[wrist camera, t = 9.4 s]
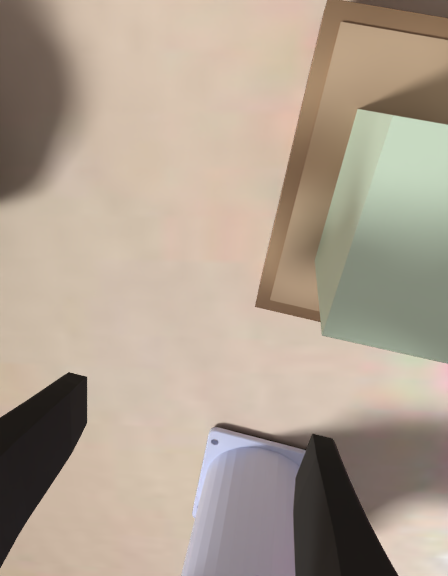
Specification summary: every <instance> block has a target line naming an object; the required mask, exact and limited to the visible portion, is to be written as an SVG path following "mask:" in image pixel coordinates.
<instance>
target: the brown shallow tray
mask: <svg viewBox="0 0 448 576" xmlns="http://www.w3.org/2000/svg"><path fill="white" fill-rule="evenodd" d="M357 109H361V110H367V111H373V112H378V113H384V114H390V115H395V116H401V117H407V118H413V119H418V120H424V121H430V122H436V123H441V124H447V125H448V18H444V17H438V16H432V15H426V14H420V13H414V12H408V11H402V10H397V9H391V8H385V7H379V6H373V5H367V4H361V3H355V2H349V1H343V0H327V3H326V7H325V10H324V14H323V18H322V22H321V26H320V30H319V34H318V39H317V43H316V47H315V51H314V56H313V60H312V64H311V68H310V73H309V77H308V81H307V85H306V90H305V94H304V98H303V102H302V107H301V111H300V115H299V119H298V124H297V128H296V132H295V136H294V141H293V145H292V149H291V153H290V158H289V162H288V166H287V170H286V175H285V179H284V183H283V187H282V192H281V196H280V200H279V204H278V209H277V213H276V217H275V221H274V225H273V230H272V234H271V238H270V242H269V247H268V251H267V255H266V259H265V264H264V268H263V272H262V276H261V281H260V285H259V290H258V295H257V300H256V304H255V307H258V308H263V309H267V310H271V311H276V312H280V313H284V314H288V315H293V316H297V317H301V318H306V319H310V320H314V321H318V322H321V320H320V310H319V300H318V290H317V279H316V269H315V258H316V254H317V251H318V247H319V243H320V240H321V236H322V233H323V229H324V226H325V222H326V219H327V215H328V212H329V208H330V205H331V201H332V198H333V194H334V190H335V187H336V183H337V180H338V176H339V173H340V169H341V166H342V162H343V159H344V155H345V152H346V148H347V145H348V141H349V137H350V134H351V130H352V127H353V123H354V120H355V116H356V113H357Z"/></svg>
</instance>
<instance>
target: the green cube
mask: <svg viewBox="0 0 448 576" xmlns="http://www.w3.org/2000/svg"><path fill="white" fill-rule="evenodd" d="M315 269H316V279H317V290H318V300H319V310H320V320H321V331H322V336H326V337H331V338H335V339H340V340H344V341H349V342H353V343H358V344H362V345H367V346H371V347H376V348H380V349H385V350H389V351H394V352H398V353H402V354H407V355H411V356H416V357H420V358H425V359H429V360H434V361H438V362H443V363H447V364H448V125H447V124H441V123H436V122H430V121H424V120H418V119H413V118H407V117H401V116H395V115H390V114H384V113H378V112H373V111H367V110H361V109H357V113H356V116H355V120H354V123H353V127H352V130H351V134H350V137H349V141H348V145H347V148H346V152H345V155H344V159H343V162H342V166H341V169H340V173H339V176H338V180H337V183H336V187H335V190H334V194H333V198H332V201H331V205H330V208H329V212H328V215H327V219H326V222H325V226H324V229H323V233H322V236H321V240H320V243H319V247H318V251H317V254H316V258H315Z"/></svg>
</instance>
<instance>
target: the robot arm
mask: <svg viewBox="0 0 448 576" xmlns="http://www.w3.org/2000/svg"><path fill="white" fill-rule="evenodd" d="M86 424H87V377H85V376H81V375H77V374H74V373H70V372H69V373H67V374H65V375H64V376H62V377H61V378H59V379H58V380H56V381H55V382H53V383H52V384H50V385H49V386H48V387H46V388H45V389H43V390H42V391H40V392H39V393H37V394H36V395H34V396H33V397H31V398H30V399H28V400H27V401H25V402H24V403H22V404H21V405H19V406H18V407H16V408H14V409H13V410H11V411H10V412H8V413H7V414H5V415H4V416H2V417H0V568H1V566H2V564H3V562H4V560H5V559H6V557H7V555H8V553H9V551H10V549H11V548H12V546H13V544H14V542H15V540H16V538H17V537H18V535H19V533H20V532H21V530H22V528H23V527H24V525H25V524H26V522H27V520H28V519H29V517H30V516H31V514H32V513H33V511H34V510H35V508H36V507H37V505H38V504H39V502H40V501H41V499H42V498H43V496H44V495H45V493H46V492H47V490H48V489H49V487H50V486H51V484H52V483H53V481H54V480H55V478H56V477H57V475H58V474H59V472H60V471H61V469H62V467H63V466H64V464H65V463H66V461H67V460H68V458H69V457H70V455H71V454H72V452H73V450H74V448H75V446H76V444H77V442H78V440H79V438H80V436H81V434H82V432H83V430H84V428H85V426H86ZM214 439H216V440H214ZM192 515H193V517H194V518H195V521H194V525H193V529H192V533H191V537H190V542H189V546H188V550H187V554H186V558H185V562H184V566H183V570H182V574H181V576H398V574H397V572H396V571H395V569H394V567H393V566H392V564H391V562H390V560H389V559H388V557H387V555H386V553H385V551H384V550H383V548H382V546H381V544H380V542H379V540H378V538H377V536H376V534H375V532H374V531H373V529H372V527H371V525H370V523H369V521H368V519H367V517H366V514H365V512H364V510H363V508H362V506H361V504H360V502H359V499H358V497H357V495H356V493H355V491H354V488H353V486H352V484H351V482H350V479H349V477H348V474H347V472H346V470H345V467H344V465H343V462H342V460H341V457H340V455H339V452H338V449H337V447H336V444H335V442H334V440H333V439H331V438H327V437H323V436H319V435H316V434H312V436H311V439H310V442H309V444H308V447H307V449H306V450H303V449H299V448H296V447H292V446H288V445H284V444H280V443H276V442H272V441H269V440H265V439H261V438H257V437H253V436H249V435H245V434H242V433H238V432H234V431H230V430H226V429H222V428H218V427H214V428H211V429H210V432H209V436H208V440H207V445H206V450H205V455H204V459H203V464H202V469H201V474H200V479H199V483H198V488H197V493H196V498H195V502H194V507H193V512H192Z"/></svg>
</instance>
